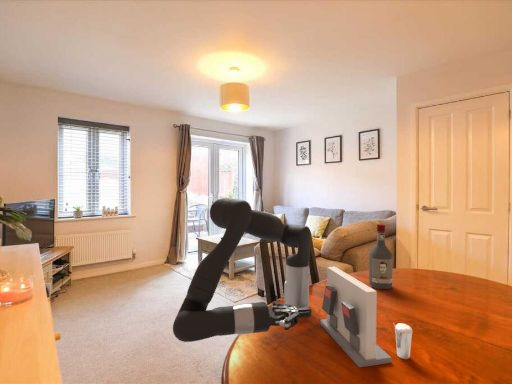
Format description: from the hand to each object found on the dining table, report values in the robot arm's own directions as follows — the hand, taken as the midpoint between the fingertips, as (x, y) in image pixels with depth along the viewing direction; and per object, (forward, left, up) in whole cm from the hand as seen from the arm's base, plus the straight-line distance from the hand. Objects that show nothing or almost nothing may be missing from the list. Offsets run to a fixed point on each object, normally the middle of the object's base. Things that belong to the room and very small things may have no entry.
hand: (309, 311), depth 82 cm
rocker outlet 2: (+8, +11, -7) cm, 15 cm away
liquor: (-6, +74, -14) cm, 75 cm away
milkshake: (+19, +20, -14) cm, 31 cm away
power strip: (+4, +17, -14) cm, 22 cm away
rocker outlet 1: (-4, +17, -7) cm, 19 cm away
